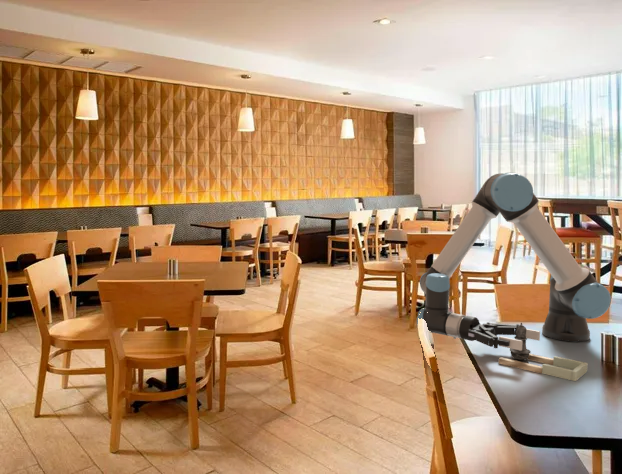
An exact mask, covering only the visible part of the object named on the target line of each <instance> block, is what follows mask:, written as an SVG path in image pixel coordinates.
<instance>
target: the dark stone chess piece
mask: <svg viewBox="0 0 622 474" xmlns="http://www.w3.org/2000/svg"><path fill="white" fill-rule="evenodd" d="M526 329H527V327H526V326H524V325H523V323H522V322H520V324H519V326H517V327H516V335H514V337H513V339H516V340H521V341H522V350H516V349H511V348H509V352H510V355H512V356H511V357H512V359H511V360H515V361H519V362H524V363H528V364H530V361H529V360H527V358H528V357H529V354H532V352H531V350H530V349H528V348H527V340H528V338H526Z"/></svg>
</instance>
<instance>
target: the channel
mask: <svg viewBox="0 0 622 474" xmlns="http://www.w3.org/2000/svg"><path fill="white" fill-rule="evenodd" d="M510 355H511V354H510ZM511 357H512V355H511ZM553 359H554V358H552V357H551V358H550V357H547V356H543V355H538V354H534V353H533V354H532V353H529V357H528V358H527V359H526V360H527V361H533V362H537V363H540V364H548V365H552V366H554V365H553ZM499 364H500V365H503V366H509V367H512V368H517V369H520V370H525V371H530V372H534V373H537V374H541V375H542V374H543V373H542V365H541V366H540V365H536V364H532V363H529V364H528V363H524V362H519V361H515V360H511V359H510V358H506V357H502V356H500V357H499V358H498V365H499Z"/></svg>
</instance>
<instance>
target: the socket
mask: <svg viewBox="0 0 622 474" xmlns="http://www.w3.org/2000/svg"><path fill="white" fill-rule="evenodd" d="M552 359H553V365H549V364H545V363H541V364H542V365H541V367H542V374H544V375H549V376H552V377H556V378H560V379H564V380H569V381H573V382H576V381H578V380H580V378H581V377H583V376H584V375H585V374H586V373H587V372H588V365H589V363H588V362H585V361H579V360H575V359H571V358H570V359H569V358H566V357H565V358H564V357H563V356H555V355H554V356H553V358H552Z"/></svg>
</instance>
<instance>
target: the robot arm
mask: <svg viewBox="0 0 622 474" xmlns="http://www.w3.org/2000/svg"><path fill="white" fill-rule="evenodd" d="M539 202H540V201H539V198H538V197H537V196H536V195H535V193H534V188H533V185H532V183H531V182H530V180H529V179H528V178H527V177H526V176H524V175H522V174H520V173H516V172H505V173H501V172H499V173H495V174H494V175H491V176H489V178H487V179H486V180H485V182H484V183H483V185H482V186H481V187H480V189H479V190H478V192H477V194H476V195H475V196H474V198H473V200H472V202H471V208H470V210H469V211H468V212H467V214H466V215H465V217H464V218H463V220H462V221H461V223H460V224H459V225H458V227H457V228H456V230H455V231H454V233H453V234H452V235H451V237H450V239H449V240H448V241H447V243H445V246H444V247H443V249H442V250H441V251H440V253H439V255H437V257H436V259H435V260H434V262H433V263H432V264H431V266H430V268H429V269H428V270H427V272H425V273H423V274H422V275H421V277H420V279H419V286H420V287H419V288H420V289H421V291H422V292H423V293H424V295H425V306H424V307H422V308H421V309H419V311H418V313H417V316H416V324H417V325H418V318H419V319H421V318H422V319H424V320H425V321H426V323H427V327H428V330H429V331H431V332H430V333H431V334H438V335H441V336H442V335H443V336H447V337H451V338H453V339H462V340H466V341H468V342H469V341H470V342H473V341H475V342H478V343H481V344H483V345H485V346H488V347H491V348H492V347H493V349H498V348H499V347H503V348H507V349H510V348H511V349H516V350H522V341H521V340H516V339H515V338H512V337H506V336H516V327H517V326H520V324H510V323H509V324H508V323H507V324H506V323H494V322H490V321H489V322H486V323H482V324H481V323H480V321H479V319H478V318H477V316H476V317H475V316H470V315H465V314H460V313H454V312H449V309H450V308H449V307H450V306H449V302H450V287H451V285H450V284H451V283H450V279H451V277H452V275H453V274H454V273H455V271H456V270H457V268H458V267H459V265H460V264H461V262H462V261H463V260H464V258H466V255H468V252H469V251H470V250H471V248H473V246H474V245H475V243H476V241H477V240H478V238H479V237H480V236H481V234H482V233H483V232H484V230H485V229H486V228H487V226H488V224H489V223H490V222H491V220H492V219H495V218H496V219H497V217H498V215H499V214H500V215H501V216H502V218H503V219H504V220H505V222H509V223H511V224H513V225H514V226H515V227H516V228H517V230H518V231H519V232H520V234H521V235H522V237H523V238H524V239H525V241H526V242H527V243H528V245H529V246H530V247H531V249H532V250H533V252H534V253H535V255H536V256H537V257H538V258H539V260H540V262H541V263H542V264H543V266H544V267H545V268H546V270H547V271H548V273H549V274H550V279H549V299H548V300H549V301H548V313H547V315H546V318H545V320H544V324H543V325H542V328H541V331H540V330H535V329H530V328H526V338H527V340H533V341H540V337H541V334H542V335H543V336H545V337H547V338H549V339H554V340H557V341H564V342H565V341H566V342H587V341H589V340H590V337H591V332H590V329H589V325H588V321H587V320H588V319H591V320H592V319H593V320H594V319H597V318H600V317H601V316H603V315H604V314H605V313H607V311H608V310H609V308H610V305H611V301H612V297H611V293H610V291H609V290H608V288H606V286H604V285H603V284H602V283H599V282H598V280H597V279H596V278H595V277H594V275H593V274H592V272H591V271H590V270H589V268H587V267H582V266H580V264H579V263H578V262H577V260H576V259H575V258H574V256H573V255H572V253H571V252H570V250H569V249H568V248H567V247H566V244H565V243H564V242H563V241H562V239H561V238H560V237H559V235H558V234H557V233H556V231H555V229H554V228H553V227H552V226H551V224H550V223H549V222H548V220H547V219H546V217H545V216H544V214H543V213H542V212H541V210H540V209H539ZM423 308H424V309H423ZM420 312H421V313H420ZM427 312H428V313H427ZM419 314H420V315H419Z"/></svg>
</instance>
